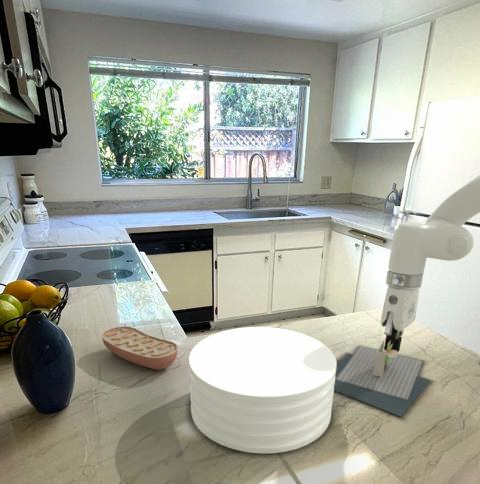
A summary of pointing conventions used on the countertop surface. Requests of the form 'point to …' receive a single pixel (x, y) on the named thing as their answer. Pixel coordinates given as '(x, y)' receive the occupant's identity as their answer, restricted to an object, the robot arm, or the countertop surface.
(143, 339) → the mitochondrion model
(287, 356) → the plate stack
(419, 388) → the mat
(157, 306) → the countertop surface
